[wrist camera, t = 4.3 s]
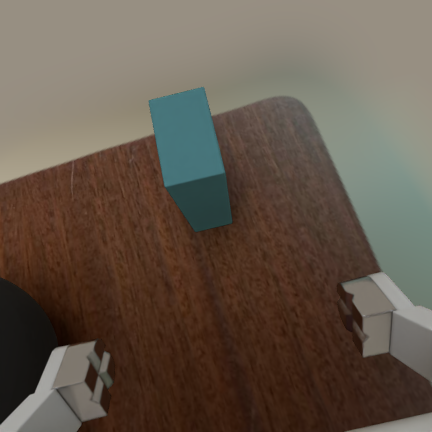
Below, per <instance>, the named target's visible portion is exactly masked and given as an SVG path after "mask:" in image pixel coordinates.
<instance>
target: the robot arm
mask: <svg viewBox="0 0 432 432" xmlns="http://www.w3.org/2000/svg"><path fill="white" fill-rule="evenodd" d="M337 293H338V294H339V296H340V298H339V300H338V301H337V303H338V311H339V314H340V318H341V320H342V322H343V324H344V326H345V328H346V329H347V330H348V331H350V332H352V336H353V342H354V344H355V345H356V347H357V349H358V350H359V352H360V354H361V356H362V357H363V358H364V357H369V356H374V355H379V354H384V353H389V352H390V354H391V355H392V356H394V357H395V358H397V359H398V360H400V361H401V362H403V363H404V364H405V365H407V366H408V367H410V368H411V369H413V370H414V371H416V372H417V373H419V374H420V375H422V376H423V377H424V378H426V379H427V380H429V381H430V382H432V310H430V309H427V308H425V307H423V306H420V305H418V306H414V304H413V303H412V302H411V301H410V300H409V299H408V298H407V297H406V296H405V294H404V293H403V292H402V291H401V290H400V289H399V288H398V287H397V285H396V284H395V283H394V282H393V281H392V280H391V279H390V278H389V277H388V275H387V274H386V273H384V272H380V273H376V274H371V275H368V276H363V277H359V278H355V279H351V280H347V281H343V282H339V283H338V284H337ZM104 349H105V344H104V342H103V341H102V339H94V340H89V341H84V342H79V343H75V344H70V345H66V346H61V347H56V348H55V349H54V350H53V351H52V353H51V355H50V358H49V360H48V362H47V365H46V367H45V369H44V372H43V374H42V376H41V379H40V381H39V384H38V386H37V388H36V391H35V393H34V394H31V395H29V396H28V397H27V398H26V399H25V400H24V401H23V402H22V403H21V404H20V405H19V406H18V407H17V408H16V409H15V410H14V411H13V412H12V413H11V414H10V415H9V417H8V418H7V419H6V420H5V421H4V422H3V423H2V424H1V425H0V432H77V431H78V429H79V428H80V426H81V424H82V423H81V422H85V421H88V420H92V419H96V418H100V417H104V416H107V414H108V409H109V404H110V399H111V394H110V392H109V391H108V389H109V388H110V387H111V386H112V384H113V383H114V379H115V363H114V360H113V358H112V356H111V354H110V353H108V352H106V351H104ZM346 432H432V412H431V413H427V414H422V415H418V416H413V417H409V418H404V419H400V420H395V421H391V422H386V423H382V424H377V425H373V426H368V427H364V428H359V429H355V430H350V431H346Z"/></svg>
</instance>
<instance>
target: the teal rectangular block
mask: <svg viewBox="0 0 432 432" xmlns="http://www.w3.org/2000/svg"><path fill="white" fill-rule="evenodd" d="M149 107H150V112H151V117H152V122H153V128H154V133H155V139H156V144H157V149H158V155H159V160H160V165H161V170H162V176H163V181H164V186H165V188H166V189H167V191H168V192H169V194H170V195H171V197H172V198H173V200H174V201H175V203H176V204H177V206H178V207H179V209H180V210H181V212H182V213H183V215H184V216H185V217H186V219H187V220H188V222H189V223H190V225H191V226H192V228H193V229H194V231H195V232H198V231H202V230H206V229H211V228H215V227H219V226H223V225H228V224H232V216H231V209H230V202H229V195H228V188H227V181H226V174H225V169H224V165H223V161H222V157H221V153H220V149H219V145H218V141H217V137H216V133H215V129H214V125H213V121H212V117H211V113H210V109H209V105H208V101H207V97H206V93H205V89H204V87H201V88H197V89H193V90H189V91H185V92H181V93H177V94H172V95H169V96H164V97H161V98H156V99H152V100H149Z"/></svg>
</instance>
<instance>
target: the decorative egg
mask: <svg viewBox="0 0 432 432" xmlns="http://www.w3.org/2000/svg"><path fill="white" fill-rule="evenodd" d="M56 347H58V342H57V337H56V334H55V331H54V328H53V326H52V324H51V322H50V320H49V318H48V316H47V315H46V313H45V312H44V310H43V309H42V308H41V306H40V305H39V304H38V303H37V302H36V301H35V300H34V299H33V298H32V297H31V296H30V295H29V294H27V293H26V292H25V291H23V290H22V289H21V288H19V287H18V286H16V285H14V284H13V283H11V282H9V281H7V280H5V279H3V278H1V277H0V425H1V424H2V423H3V422H4V421H5V420H6V419H7V418H8V417H9V415H10V414H11V413H12V412H13V411H14V410H15V409H16V408H17V407H18V406H19V405H20V404H21V403H22V402H23V401H24V400H25V399H26V398H27V397H28V396H29V395H31V394H34V393H35V391H36V388H37V386H38V384H39V381H40V379H41V376H42V374H43V372H44V369H45V367H46V365H47V362H48V360H49V358H50V355H51V353H52V351H53V350H54V349H55V348H56Z"/></svg>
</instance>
